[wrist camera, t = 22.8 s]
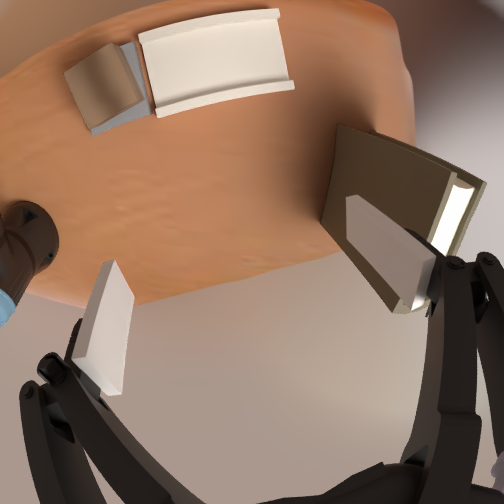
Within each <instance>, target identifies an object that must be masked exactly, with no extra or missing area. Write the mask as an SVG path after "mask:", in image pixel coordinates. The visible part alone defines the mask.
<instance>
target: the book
mask: <svg viewBox="0 0 504 504" xmlns="http://www.w3.org/2000/svg"><path fill="white" fill-rule="evenodd" d="M486 185H487V183H486V182H484V181H483V180H481V179H479V178H478V177H476V176H474V175H472V174H470V173H468V172H466V171H465V170H463V169H461V168H459V167H457V166H455V165H453V164H451V163H449V162H447V161H445V160H443V159H441V158H438V157H436V156H434V155H432V154H430V153H427V152H425V151H423V150H421V149H418V148H416V147H414V146H411V145H409V144H406V143H404V142H401V141H399V140H396V139H394V138H391V137H388V136H386V135H383V134H380V133H377V132H374V131H371V134H368V133H365V132H362V131H359V130H356V129H353V128H350V127H347V126H344V125H340V124H337V132H336V147H335V158H334V163H333V169H332V174H331V179H330V184H329V189H328V194H327V198H326V202H325V206H324V210H323V214H322V217H321V221H320V224H321V225H322V226H323V227H324V229H325V230H326V231H327V232H328V233H329V234H330V236H331V237H332V238H333V239H334V240H335V242H336V243H337V244H338V245H339V246H340V248H341V249H342V250H343V251H344V252H345V254H346V255H347V256H348V257H349V258H350V260H351V261H352V262H353V263H354V265H355V266H356V267H357V268H358V270H359V271H360V272H361V273H362V275H363V276H364V277H365V278H366V280H367V281H368V282H369V284H370V285H371V286H372V287H373V289H374V290H375V291H376V293H377V294H378V295H379V296H380V298H381V299H382V300H383V302H384V303H385V304H386V306H387V307H388V308H389V310H390V311H391V312H392V313H397V314H406V313H410V312H415V311H418V310H421V309H423V308H425V307H427V306H429V304H430V301H431V300H430V298H429V297H428V296H427V295H426V297H425V301H424V304H423V305H422V306H420V307H418V308H416V309H414V310H412V311H411V310H410V309H409V308H408V306H407V305H406V304H405V303H404V302H403V301H402V299H401V298H400V297H399V296H398V295H397V294H396V292H395V291H394V290H393V289H392V288H391V287H390V285H389V284H388V283H387V282H386V281H385V280H384V279H383V278H382V276H381V275H380V274H379V273H378V272H377V271H376V270H375V269H374V268H373V266H372V265H371V264H370V263H369V262H368V261H367V260H366V259H365V258H364V257H363V256H362V255H361V253H360V252H359V251H358V250H357V249H356V248H355V247H354V246H353V245H352V244H351V243H350V242H349V241H348V240H347V228H346V197H349V196H353V195H359V196H360V197H361V198H363V199H364V200H366V201H367V202H368V203H370V204H371V205H373V206H374V207H375V208H377V209H378V210H379V211H381V212H382V213H383V214H385V215H386V216H387V217H389V218H390V219H391V220H393V221H394V222H395V223H397V224H398V225H399V226H400V227H402V228H403V229H404V228H408V229H410V230H413V231H415V232H417V233H418V234H419V235H420V236H422V238H424V239H425V240H427V242H429V243H430V244H431V245H433V246H434V247H435V248H436V249H437V250H439V251H440V252H441V253H442V254H443V255H445V256H448V255H453V256H456V254H457V252H458V249H459V247H460V245H461V242H462V240H463V237H464V235H465V232H466V230H467V227H468V225H469V222H470V220H471V218H472V216H473V214H474V212H475V210H476V208H477V206H478V203H479V201H480V199H481V197H482V194H483V192H484V190H485V187H486Z"/></svg>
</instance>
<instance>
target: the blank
mask: <svg viewBox="0 0 504 504" xmlns="http://www.w3.org/2000/svg"><path fill="white" fill-rule="evenodd" d="M63 74H64V77H65V79H66V81H67V84H68V86H69V88H70V91H71V93H72V95H73V97H74V100H75V102H76V104H77V106H78V108H79V110H80V113H81V115H82V117H83V119H84V121H85V123H86V125H87V127H88V129H92V128H95V127H97V126H100V125H102V124H104V123H105V122H107V121H109V120H110V119H112V118H114V117H115V116H117V115H119V114H120V113H122V112H124V111H126V110H127V109H129V108H131V107H133V106H135V105H136V104H138V103H140V102H142V101H144V100H145V98H144V96H143V94H142V92H141V90H140V88H139V85H138V83H137V81H136V79H135V77H134V74H133V72H132V70H131V68H130V66H129V63H128V61H127V59H126V57H125V54H124V52H123V50H122V48H120V47H119V46H117V45H116V44H114V43H113V42H111V43H109V44H107V45H106V46H104V47H102V48H101V49H99V50H97V51H96V52H94V53H92V54H91V55H89V56H88V57H86V58H85V59H83V60H82V61H80V62H79V63H77V64H76V65H74V66H73V67H71V68H70V69H69V70H67V71H66V72H65V73H63Z"/></svg>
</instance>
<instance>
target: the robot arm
mask: <svg viewBox="0 0 504 504" xmlns="http://www.w3.org/2000/svg"><path fill="white" fill-rule="evenodd" d="M346 228H347V240H348V241H349V242H350V243H351V244H352V245H353V246H354V247H355V248H356V249H357V250H358V251H359V252H360V253H361V255H362V256H363V257H364V258H365V259H366V260H367V261H368V262H369V263H370V264H371V265H372V266H373V268H374V269H375V270H376V271H377V272H378V273H379V274H380V275H381V276H382V278H383V279H384V280H385V281H386V282H387V283H388V284H389V285H390V287H391V288H392V289H393V290H394V291H395V292H396V294H397V295H398V296H399V297H400V298H401V299H402V301H403V302H404V303H405V304H406V305H407V306H408V308H409V309H410V310H411V311H412V310H414V309H416V308H418V307H420V306H422V305H423V304H424V301H425V297H426V295H427V296H428V297H429V298H430V300H431V301H430V304H429V307H428V310H427V313H426V316H425V317H427V316H428V314H429V318H428V334H427V345H426V346H427V347H426V355H425V363H424V371H423V378H422V384H421V390H420V396H419V402H418V406H417V411H416V416H415V420H414V424H413V429H412V433H411V437H410V439H409V441H408V443H407V445H406V447H405V449H404V452H403V454H402V457H401V460H400V463H394V464H386V465H384V464H383V462H380V463H378V464H376V465H374V466H372V467H370V468H368V469H366V470H363V471H361V472H359V473H356V474H354V475H352V476H350V477H349V478H347V479H346V480H344V481H343V482H341V483H340V484H338V485H337V486H335V487H334V488H332V489H331V490H329V491H327V492H326V493H324V494H321V495H316V496H305V497H289V498H281V499H277V500H273V501H268V502H263V503H259V504H504V269H503V267H502V265H501V264H500V262H499V260H498V259H497V258H496V257H495V256H494V255H493V254H491V253H489V252H480V253H478V254H477V258H476V261H475V262H468V263H466V262H465V261H464V260H462V259H461V258H459V257H456V256H453V255H448V256H445V255H443V254H442V253H441V252H440V251H439V250H437V249H436V248H435V247H434V246H433V245H431V244H430V243H429V242H427V240H425V239H424V238H422V236H420V235H419V234H418V233H417V232H415V231H413V230H410V229H408V228H404V229H403V228H402V227H400V226H399V225H398V224H397V223H395V222H394V221H393V220H391V219H390V218H389V217H387V216H386V215H385V214H383V213H382V212H381V211H379V210H378V209H377V208H375V207H374V206H373V205H371V204H370V203H368V202H367V201H366V200H364V199H363V198H361V197H360V196H359V195H353V196H349V197H346ZM58 248H59V237H58V232H57V229H56V226H55V224H54V222H53V220H52V219H51V217H50V216H49V214H48V213H47V212H46V211H45V210H44V209H43V208H41V207H40V206H38V205H37V204H35V203H32V202H27V201H23V202H18V203H16V204H14V205H13V206H12V207H11V208H10V209H8V210H7V211H6V213H5V214H4V216H3V217H1V214H0V327H2V326H3V325H5V324H6V323H7V321H8V319H9V318H10V316H11V315H12V314H13V312H14V311H15V308H16V306H17V304H18V302H19V301H20V299H21V297H22V295H23V293H24V292H25V290H26V288H27V286H28V284H29V283H30V281H31V279H32V278H33V276H35V275H36V274H38V273H40V272H41V271H43V270H44V269H46V268H47V267H48V266H49V265H50V264H51V263H52V261H53V260H54V258H55V257H56V255H57V252H58ZM487 296H488V299H487ZM134 298H135V297H134V295H133V293H132V291H131V290H130V288H129V286H128V284H127V282H126V280H125V279H124V277H123V275H122V273H121V271H120V269H119V267H118V265H117V263H116V261H115V259H114V260H111V261H108V262H105V263H103V265H102V267H101V270H100V272H99V275H98V277H97V280H96V283H95V285H94V288H93V291H92V294H91V296H90V299H89V302H88V305H87V308H86V311H85V314H84V317H83V318H81V319H79V320H78V321H77V323H76V324H75V326H74V328H73V331H72V334H71V336H72V337H71V338H70V341H69V344H68V347H67V351H66V355H65V358H64V361H63V360H62V359H61V357H60V356H59V355H58V354H57V353H55V352H51V353H48V354H46V355H45V356H44V357H43V358H42V359H41V360H40V362H39V364H38V367H37V373H38V375H39V376H40V377H41V378H42V379H43V380H44V381H45V382H47V383H46V384H43V385H41V386H39V385H38V384H37V383H36V382H35V381H32V380H30V381H28V382H26V383H25V384H24V385H23V386H22V388H21V390H20V395H19V400H20V412H21V421H22V428H23V435H24V441H25V446H26V451H27V456H28V461H29V466H30V470H31V474H32V477H33V481H34V485H35V488H36V492H37V495H38V498H39V501H40V504H107V503H106V501H105V499H104V497H103V495H102V493H101V490H100V488H99V486H98V484H97V482H96V479H95V477H94V475H93V472H92V470H91V467H90V465H89V462H88V460H87V457H86V455H85V452H84V450H85V451H86V453H87V454H88V456H89V457H90V459H91V460H92V462H93V463H94V464H95V466H96V467H97V469H98V470H99V471H100V473H101V474H102V475H103V477H104V478H105V480H106V481H107V482H108V484H109V485H110V486H111V487H112V488H113V490H114V491H115V492H116V494H117V495H118V496H119V497H120V498H121V500H122V501H123V502H124V503H125V504H205V503H204V502H203V501H201V500H200V499H199V498H197V497H196V496H195V495H194V494H192V493H191V492H190V491H189V490H188V489H186V488H185V487H184V486H183V485H182V484H181V483H180V482H178V481H177V480H176V479H175V478H174V477H173V476H172V475H171V474H170V473H169V472H167V471H166V470H165V469H164V468H163V467H162V466H161V465H160V464H159V463H158V462H157V461H156V460H155V459H154V458H153V457H152V456H151V455H150V454H149V453H148V452H147V451H146V450H145V449H144V447H143V446H142V445H141V444H140V443H139V442H138V441H137V440H136V439H135V438H134V436H133V435H132V434H131V433H130V432H129V431H128V430H127V428H126V427H125V426H124V425H123V424H122V422H121V421H120V420H119V419H118V418H117V417H116V415H115V414H114V413H113V411H112V410H111V409H110V408H109V406H108V405H107V404H106V402H105V401H104V400H103V399H102V398H101V397H100V390H102V391H103V392H104V393H106V395H108V396H111V395H121V394H122V387H123V376H124V366H125V357H126V349H127V342H128V335H129V328H130V321H131V314H132V309H133V303H134ZM488 300H489V301H488ZM477 349H478V353H479V356H480V360H481V365H482V369H483V373H484V378H485V383H486V388H487V394H488V399H489V406H490V413H491V421H492V429H493V438H494V444H495V449H496V453H497V457H498V459H497V461H496V463H495V464H494V465H493V467H492V469H491V474H492V476H493V477H496V479H495V483H494V485H493V488H488V487H484V486H479V485H475V484H472V483H471V482H472V478H473V473H474V470H475V465H476V460H477V455H478V449H479V442H480V435H481V427H482V420H481V417H480V416H479V415H477V414H476V412H475V406H476V392H477ZM83 448H84V449H83Z"/></svg>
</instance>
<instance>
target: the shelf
mask: <svg viewBox="0 0 504 504" xmlns="http://www.w3.org/2000/svg"><path fill="white" fill-rule="evenodd" d="M279 17H280V13H279V9H278V8H277V9H260V10H248V11H239V12H231V13H224V14H218V15H212V16H206V17H201V18H196V19H191V20H187V21H182V22H178V23H174V24H170V25H167V26H163V27H159V28H156V29H153V30H149V31H146V32H143V33H140V34H138V36H139V41H140V43H141V44H142V48H143V52H144V57H145V61H146V66H147V70H148V75H149V79H150V83H151V87H152V91H153V95H154V99H155V103H156V107H157V109H155V110H156V114H157V118H161V117H164V116H167V115H171V114H174V113H178V112H181V111H185V110H188V109H192V108H196V107H200V106H204V105H208V104H212V103H217V102H221V101H226V100H231V99H236V98H241V97H246V96H252V95H258V94H264V93H270V92H277V91H285V90H293V89H295V87H294V81H293V80H290V81H289V77H288V71H287V66H286V61H285V56H284V51H283V46H282V41H281V36H280V32H279V27H278V23H277V19H278V18H279Z"/></svg>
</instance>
